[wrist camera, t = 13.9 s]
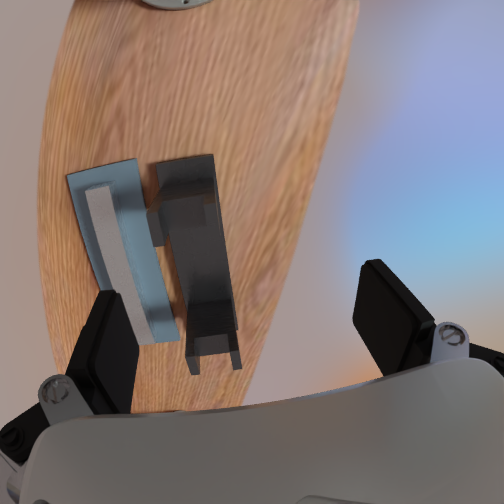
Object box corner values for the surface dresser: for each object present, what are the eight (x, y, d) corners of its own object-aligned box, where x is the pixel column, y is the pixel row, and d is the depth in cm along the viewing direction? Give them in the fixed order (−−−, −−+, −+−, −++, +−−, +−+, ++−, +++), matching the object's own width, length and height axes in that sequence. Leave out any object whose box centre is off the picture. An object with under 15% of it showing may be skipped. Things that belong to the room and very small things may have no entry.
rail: (92, 185, 32) (84, 191, 29) (115, 180, 32) (108, 185, 30) (137, 334, 41) (135, 345, 39) (157, 332, 42) (155, 343, 40)
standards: (157, 162, 32) (136, 185, 23) (213, 153, 33) (215, 171, 23) (193, 330, 43) (193, 388, 33) (237, 324, 44) (247, 382, 34)
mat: (68, 174, 31) (66, 175, 31) (136, 158, 32) (135, 159, 31) (124, 343, 43) (123, 345, 42) (180, 337, 43) (180, 340, 43)
